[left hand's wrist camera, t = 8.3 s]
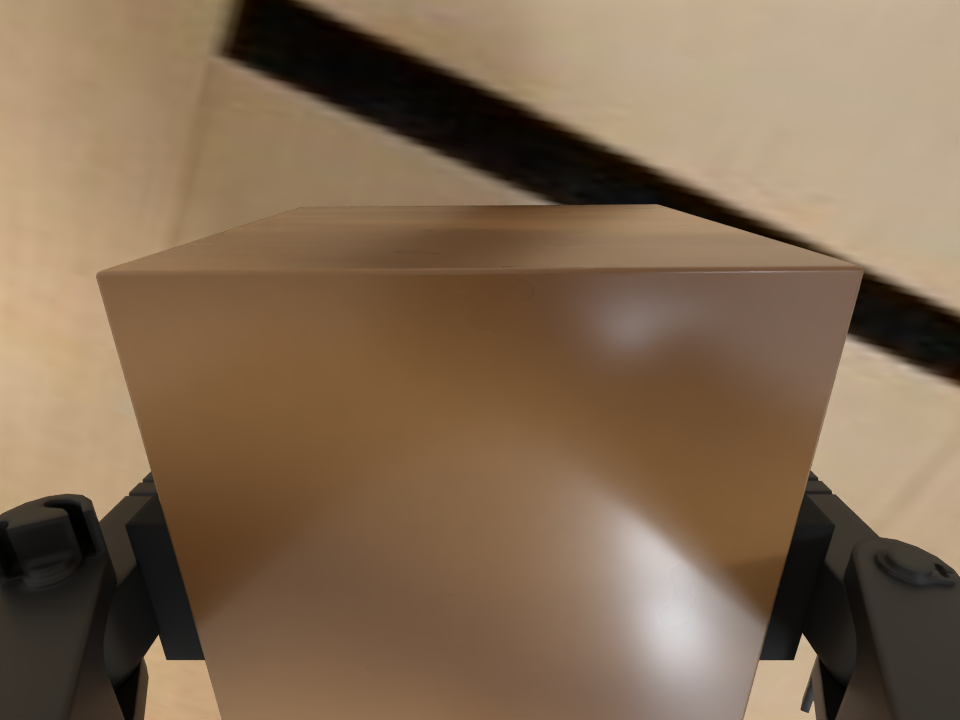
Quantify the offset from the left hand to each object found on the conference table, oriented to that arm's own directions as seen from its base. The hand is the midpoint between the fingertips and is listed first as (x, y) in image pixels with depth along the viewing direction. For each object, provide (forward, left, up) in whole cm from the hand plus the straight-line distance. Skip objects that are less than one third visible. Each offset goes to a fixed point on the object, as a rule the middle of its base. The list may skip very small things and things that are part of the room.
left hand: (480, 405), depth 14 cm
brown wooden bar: (+11, +20, -1) cm, 23 cm away
